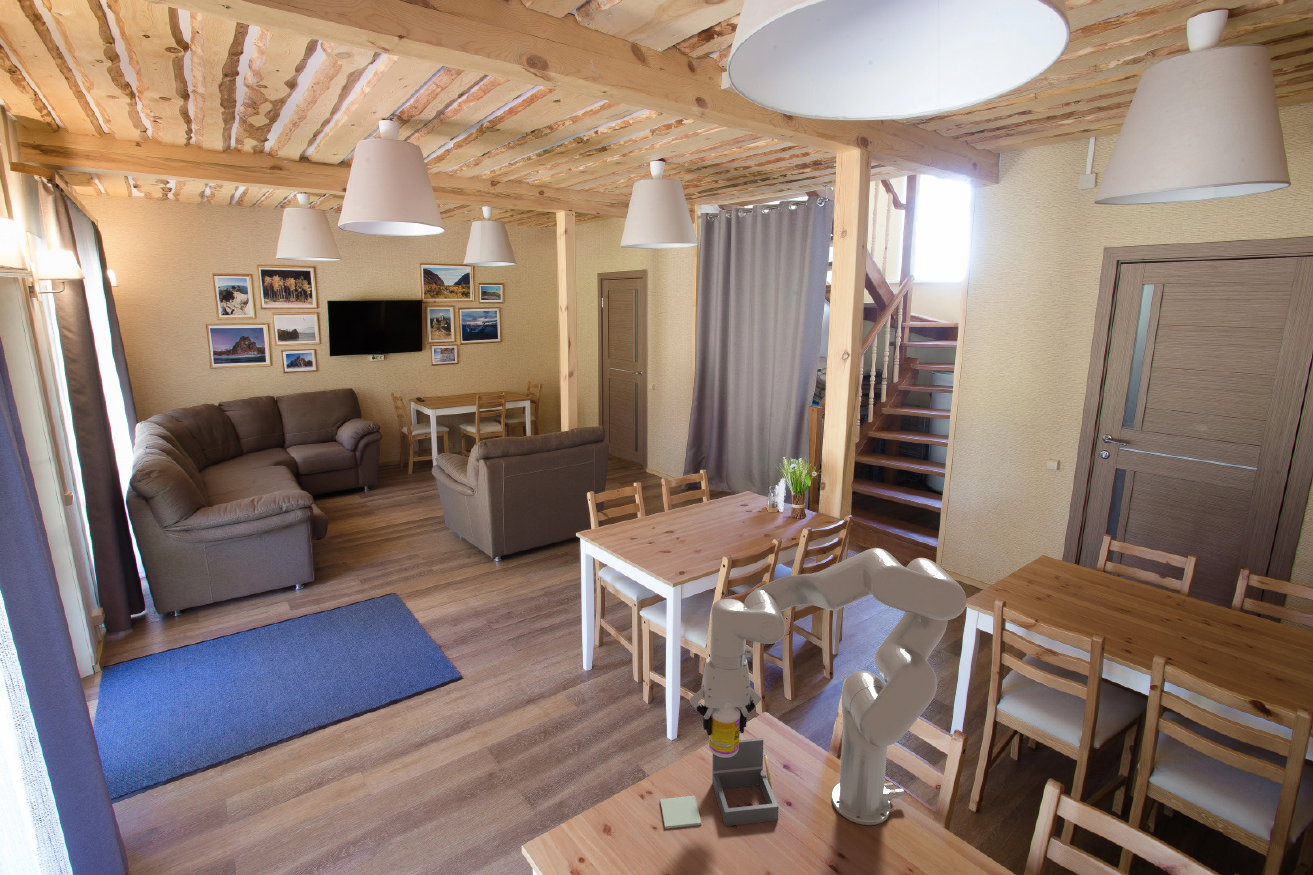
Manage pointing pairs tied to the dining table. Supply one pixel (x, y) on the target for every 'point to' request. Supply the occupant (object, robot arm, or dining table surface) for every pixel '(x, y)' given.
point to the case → (744, 783)
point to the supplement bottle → (725, 731)
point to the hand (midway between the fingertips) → (724, 729)
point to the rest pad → (680, 812)
